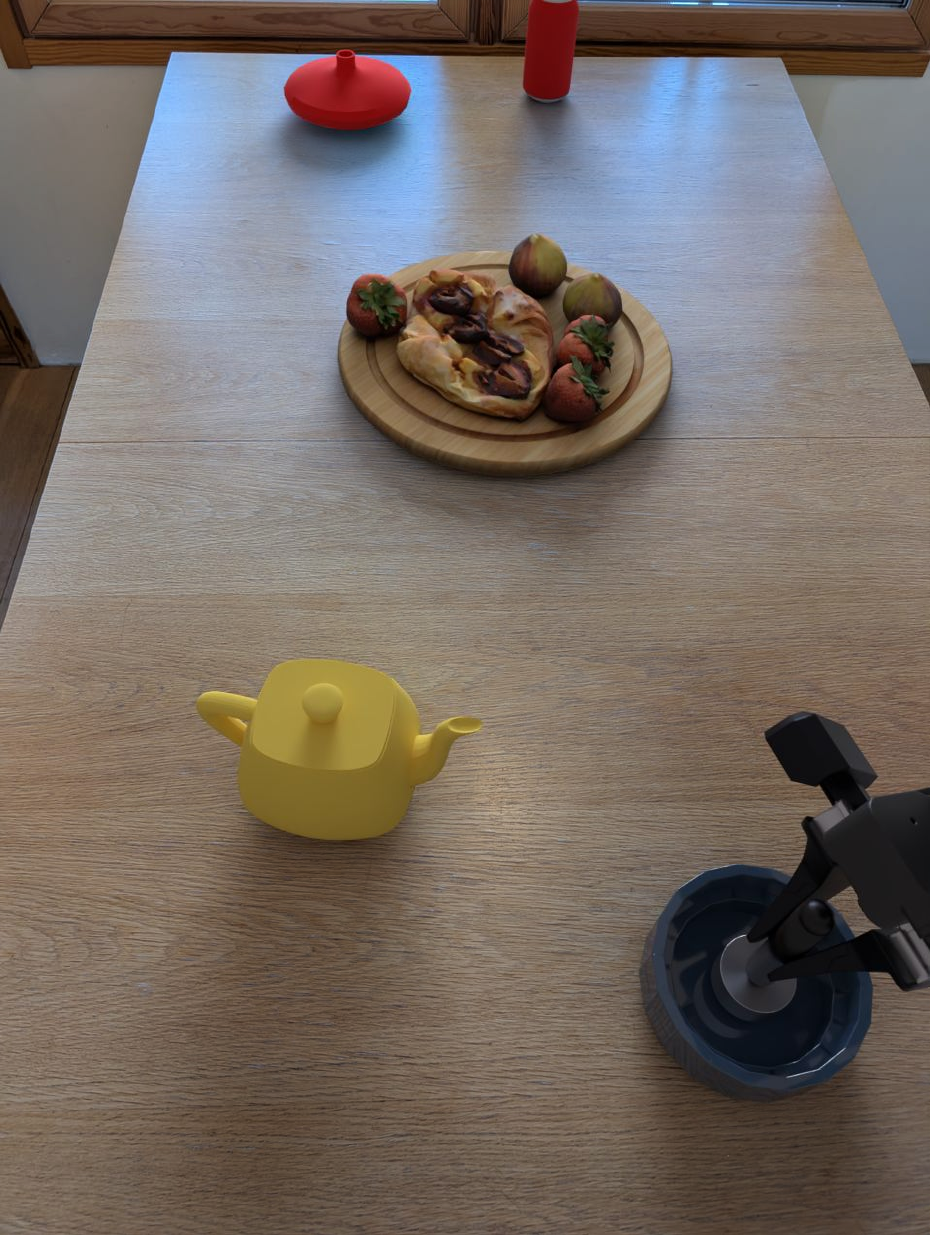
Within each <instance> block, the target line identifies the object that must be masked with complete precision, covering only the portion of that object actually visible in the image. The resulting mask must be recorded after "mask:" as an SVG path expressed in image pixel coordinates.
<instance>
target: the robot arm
mask: <svg viewBox="0 0 930 1235" xmlns="http://www.w3.org/2000/svg"><path fill="white" fill-rule="evenodd" d="M764 739H765V741H766V743H767V744H768V746H769V748H770V749H771V751H772V753H773V754H774V756H775V757H776V759H777V761H778V763H779V764H780V766H781V767H782V769H783V771H784V772H785V774H786V775H787V777H788V779H789V780H790V782H794V783H797V784H802V785H806V786H808V787H809V786H810V787H813V788H817V787H820V789H821V791H822V792H823V794H824V795H825V797H826V798H827V800H828V802H829V803H830V804H831V807H828V808H827V809H826V810H824V811H822V812H821V813H819V814H817V815H815V816H811V815H806V816H805V817H804V818H803V819H802V821H801V822H800V825H801V829H802V830H803V832H804V833H805V835H806V844H805V848H804V852H803V856H802V858H801V861H800V862H799V864H798V865H797V867H796V869H795V871H794V873H793V874H792V876H791V877H792V878H791V879H790V881H789V882H788V884H787V885H786V886H785V888H784V889H783V890H782V892H781V893H780V894H779V895H778V896H777V898H776V899H775V900H774V901H773V903H772V904H771V905H770V906H769V908H768V909H767V910H766V911H765V913H764V914H763V915H762V916H761V918H760V919H759V920H758V922H757V923H756V924H755V925H754V927H753V928H752V929H751V930H750V932H749V933H748V934H747V936H746V937H747V939H748V941H749V943H757V942H759V941H761V940H763V939H766V938H768V937H770V936H771V935H772V934H773V933H774V932H775V930H776V929H777V928H778V927H779V926H780V925H781V924H782V923H783V922H784V921H785V920H786V919H787V918H788V917H789V916H790V915H791V914H792V913H793V912H794V911H795V910H796V909H797V908H798V907H799V906H800V905H801V904H802V903H803V902H804V901H806V900H809V899H820V900H823V901H824V902H826V901H828V902H829V900H831V899H832V898H834V897H835V896H837V895H838V894H840V893H842V892H843V891H845V890H846V889H848V888H849V887H851V888H852V890H853V891H854V893H855V894H856V896H857V905H858V906H859V909H860V910H861V911H862V913H863V914H864V917H866V919H868V920H869V921H870V922H871V924H873V925H874V926H876V927H877V928H872V929H869V930H867V931H866V932H865V931H864V933H861V934H859V935H858V936H855V938H853V939H851V940H848V941H846V942H843V943H840V944H837V945H835V946H832V947H829V948H826V949H824V950H821V951H818V952H815V953H813V954H810V955H807V956H804V957H802V958H799V959H796V960H793V961H791V962H788V963H786V964H784V965H782V966H780V967H779V968H777V969H775V970H773V971H772V972H770V973H768V974H767V977H768V979H769V981H770V982H773V981H780V980H787V979H794V978H801V977H808V976H815V975H822V974H828V973H836V972H869V973H884V974H888V975H889V976H890V977H891V979H892V980H893V982H894V983H895V985H896V986H897V987H898V988H899V989H900V990H901V991H903V992H905V993H910V992H913V991H917V990H918V991H919V990H922V989H928V988H930V786H928V787H924V788H918V789H914V790H909V791H902V792H896V793H890V794H889V793H888V794H884V795H877V796H873V797H871V795H870V794H869V793H868V791H867V789H868V788H869V787H871V786H872V784H873V783H874V782H875V781H876V780H877V779H878V777H879V775H878V774H877V772H876V770H874V768H873V767H872V765H871V764H870V762H869V761H868V759H867V757H866V756H865V754H864V753H863V752H862V750H861V748H860V747H859V745H858V744H857V742H856V741H855V740H854V738H853V737H852V735H851V734H850V732H849V731H848V729H847V728H846V726H845V725H844V724H842V723H839V722H838V721H835V720H832V719H830V718H828V717H825V716H823V715H820V714H817V713H816V712H815V713H814V712H810V711H804V710H802V711H799V712H795V713H793V714H790V715H787V716H786V717H785V718H782V720H780V721H779V722H777V723H775V724H774V725H773V726H771V727H770V728H768V729H766V730H765V731H764Z"/></svg>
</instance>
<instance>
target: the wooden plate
mask: <svg viewBox="0 0 930 1235" xmlns="http://www.w3.org/2000/svg"><path fill="white" fill-rule="evenodd" d="M345 305H346V307H345V314H346V319H345V321H344V322H343V325H342V328H341V330H340V334H339V338H338V343H337V365H338V371H339V376H340V379H341V383H342V385H343V388H344V391H345V393H346V395H347V397H348V399H349V400H350V402H351V403H352V405H353V406H354V408H355V409H356V411H357V412H358V413H359V414H360V415H361V416H362V417H363V419H364V420H365V421H367V423H369V424H370V425H371V426H372V428H374V429H375V430H376V431H377V432H378V433H380V435H382V436H384V437H385V438H386V439H388V440H389V441H391V442H392V443H394V444H395V445H396V446H398V447H400V448H402V449H403V450H405V451H407V452H409V453H410V454H413V455H416V456H418V457H420V458H422V459H424V460H427V461H430V462H432V463H436V464H438V465H440V466H445V467H447V468H453V469H456V470H461V471H466V472H469V473H475V474H476V473H478V474H483V475H490V476H504V477H505V476H506V477H523V476H539V475H549V474H555V473H560V472H565V471H569V470H570V471H571V470H574V469H578V468H582V467H585V466H587V465H588V466H589V465H590V464H593V463H596V462H598V461H601V460H603V459H605V458H607V457H609V456H611V455H612V454H615V453H617V452H618V451H620V450H621V449H623V448H625V447H627V446H628V445H630V444H631V443H632V442H634V441H635V440H637V438H639V437H640V436H641V435H643V433H644V432H645V431H646V430H647V429H648V428H649V427H650V426H651V425H652V424H653V422H654V421H655V420H656V419H657V417H658V416H659V414H660V412H661V411H662V409H663V408H664V406H665V403H666V402H667V400H668V397H669V393H670V390H671V386H672V380H673V372H674V371H673V370H674V369H673V356H672V351H671V348H670V345H669V341H668V339H667V337H666V335H665V332H664V331H663V328H662V327H661V325H660V324H659V322H658V321H657V319H656V318H655V317H654V315H653V314H652V313H651V312H650V311H649V309H648V308H647V307H646V306H645V305H644V304H642V302H640V301H639V300H638V299H637V298H636V297H635V295H632V294H631V293H629V291H627V290H626V289H624V288H623V287H622V286H620V285H618V284H617V283H615V282H614V281H612V280H610V279H609V278H608V277H607V276H606V275H604V274H602V273H599V272H594V271H592V270H590V269H587V268H584V267H582V266H579V265H576V264H574V263H571V262H568V261H567V257H566V256H565V253H564V251H563V249H562V248H561V246H560V245H559V244H558V243H557V242H556V241H555V240H554V239H552V238H550V237H549V236H546V235H544V234H541V233H533V234H532V233H531V234H530V235H528V236H526V237H525V238H524V239H522V240H521V241H520V242H519V243H518V244H517V245H516V246H515V247H514V249H513V251H509V250H508V251H507V250H480V251H479V250H478V251H466V252H458V253H451V254H446V255H441V256H436V257H433V258H429V259H426V260H422V261H419V262H416V263H413V264H411V265H408V266H406V267H404V268H403V267H402V268H401V269H399V270H397V271H395V272H394V273H392V274H390V275H388V276H384V275H383V274H381V273H364V274H361V276H359V277H358V278H357V279H355V281H354V282H353V283H352V286H351V289H350V292H349V294H348V296H347V298H346V303H345Z"/></svg>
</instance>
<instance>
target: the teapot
mask: <svg viewBox="0 0 930 1235" xmlns="http://www.w3.org/2000/svg"><path fill="white" fill-rule="evenodd" d="M195 710H196V712H197V713H198V715H199V717H200V718H201V719H202V720H203V721H204V722H205V723H207V725H209V726H210V728H212V729H213V730H215V731H216V732H218V734H220V735H222V736H223V737H224V738H226V739H228V740H229V741H231V742H232V743H233V744H235V745H236V746H238V747H240V748H241V749H240V755H239V761H238V767H237V786H238V793H239V796H240V799H241V802H242V804H243V806H244V807H245V809H246V810H247V811H248V812H249V813H250V814H251V815H252V816H254V817H255V818H256V819H258V820H260V821H261V822H263V823H265V824H267V825H269V826H272V827H274V828H276V829H279V830H281V831H284V832H287V833H289V834H293V835H297V836H300V837H304V838H309V839H315V840H324V841H325V840H326V841H354V840H363V839H364V840H365V839H369V838H377V837H379V836H382V835H385V834H387V833H389V832H390V831H392V830H394V829H395V828H397V826H398V825H400V823H401V822H402V820H403V819H404V817H405V816H406V814H407V812H408V810H409V806H410V804H411V801H412V798H413V795H414V792H415V788H416V787H417V786H420V785H423V784H426V783H427V782H430V781H433V779H435V778H436V777H437V776H438V775H439V774H440V773H441V771H442V770H443V768H444V767H445V765H446V762H447V760H448V757H449V754H450V751H451V747H452V745H453V743H454V742H455V741H456V740H457V739H459V738H461V737H464V736H468V735H471V734H474V733H476V732H478V731H480V730H481V729H482V728H483V722H482V721H481V719H478V718H476V717H472V716H456V717H451V718H448V719H445V720H444V721H441V722H440V723H438V724H437V726H435V728H434V730H433V732H432V733H428V734H422V732H423V730H422V723H421V719H420V715H419V712H418V709H417V706H416V705H415V703H414V701H413V699H412V698H411V696H410V695H409V694H408V693H407V691H405V689H404V688H403V687H402V685H400V684H399V683H398V682H397V681H395V679H393V678H392V677H390V676H389V675H388V674H385V673H384V672H382V671H380V670H378V669H375V668H372V667H368V666H365V665H361V664H357V663H353V662H349V661H343V660H336V659H323V658H303V659H302V658H299V659H291V660H287V661H283V662H281V663H279V664H277V665H275V667H274V668H272V669H271V671H270V672H269V674H268V675H267V677H266V679H265V681H264V683H263V686H262V688H261V690H260V692H259V694H258V696H257V699H255V698H252V697H247V696H245V695H240V694H235V693H230V692H225V691H217V690H215V691H214V690H211V691H206V692H203V693H202V694H201V695H199V696H198V697H197V699H196V702H195ZM243 721H245V722H247V724H246V723H245V722H243Z"/></svg>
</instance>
